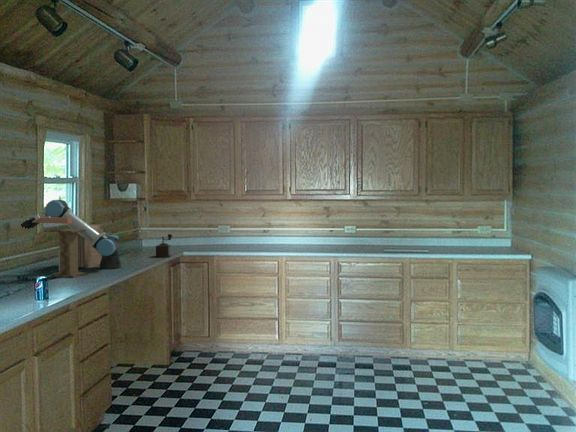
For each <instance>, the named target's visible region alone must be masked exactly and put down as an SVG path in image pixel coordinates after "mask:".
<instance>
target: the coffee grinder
mask: <svg viewBox="0 0 576 432" xmlns="http://www.w3.org/2000/svg"><path fill="white" fill-rule="evenodd" d="M167 237H168V238H167V239H165V238H164V236H162V237H161V239H162V242H161V243H159V244H157V245H156V246H155V258H170V257H171V256H172V254H171V251H172V250H171V247H172V246H171V244H168V243H167V242H165V241H172V238H173V234H171V233H168V234H167Z"/></svg>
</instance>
